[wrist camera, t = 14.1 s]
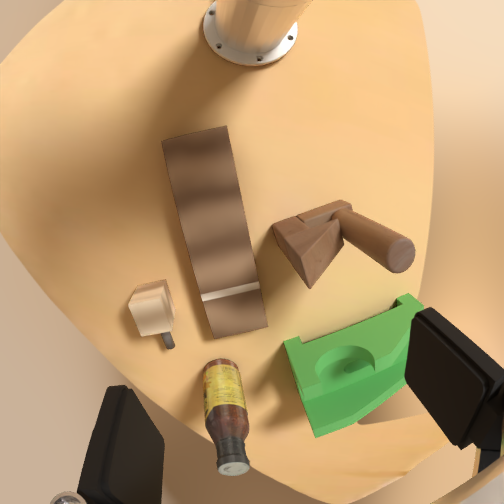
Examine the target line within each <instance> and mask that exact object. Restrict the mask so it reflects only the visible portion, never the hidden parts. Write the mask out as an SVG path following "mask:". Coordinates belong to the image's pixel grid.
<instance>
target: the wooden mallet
mask: <svg viewBox="0 0 504 504" xmlns="http://www.w3.org/2000/svg"><path fill="white" fill-rule="evenodd" d="M272 228H273V231H274V234H275V237H276V240H277V243H278V246H279V247H280V248H281V250H282V251H283V253H284V254H285V255H286V257H287V258H288V260H289V261H290V262H291V264H292V265H293V267H294V268H295V270H296V271H297V273H298V274H299V275H300V277H301V278H302V280H303V281H304V283H305V284H306V285H307V287H308V288H309V289H311V288H312V286H313V285H314V284H315V282H316V281H317V280H318V279H319V277H320V276H321V275H322V273H323V272H324V271H325V270H326V268H327V267H328V266H329V264H330V263H331V262H332V260H333V259H334V258H335V256H336V255H337V254H338V252H339V251H340V250H341V248H342V247H343V246H344V241H343V238H344V239H346V240H347V241H348V242H350V243H351V244H353V245H354V246H355V247H357V248H358V249H360V250H361V251H363V252H364V253H365V254H367V255H368V256H369V257H371V258H372V259H374V260H375V261H376V262H378V263H379V264H380V265H382V266H383V267H385V268H386V269H387V270H389V271H390V272H392V273H402V272H404V271H406V270H407V269H408V268H409V267H410V266H411V265H412V263H413V261H414V258H415V247H414V244H413V243H412V241H411V240H410V239H408V238H407V237H405V236H403V235H401V234H399V233H397V232H395V231H393V230H391V229H389V228H387V227H385V226H383V225H381V224H379V223H377V222H375V221H373V220H371V219H369V218H366V217H364V216H362V215H360V214H358V213H356V212H354V211H353V210H352V206H351V204H350V203H348V202H345V201H343V200H338V201H335V202H332V203H329V204H327V205H324V206H321V207H318V208H315V209H313V210H310V211H307V212H304V213H302V214H299V215H297V217H295V216H293V217H290V218H288V219H285V220H282V221H279V222H277V223H274V224H273V225H272Z"/></svg>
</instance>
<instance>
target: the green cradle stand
mask: <svg viewBox="0 0 504 504" xmlns="http://www.w3.org/2000/svg"><path fill="white" fill-rule="evenodd" d="M421 310H424V305H423V304H421V303H420V302H419V301H418V300H417V299H415V298H414V297H413V296H412V295H410V294H409V293H407V294H405V295H403V296H401V297H398V298H397V307H395V308H393V309H391V310H389V311H386V312H384V313H382V314H379V315H377V316H375V317H372V318H370V319H367V320H365V321H363V322H360V323H358V324H355V325H353V326H350V327H348V328H345V329H342V330H340V331H337V332H335V333H332V334H329V335H327V336H324V337H321V338H318V339H316V340H313V341H310V342H307V343H304V344H302V342H301V340H300V338H299V336H298V337H295V338H292V339H289V340H286V341H283V342H284V345H285V349H286V352H287V355H288V359H289V362H290V365H291V369H292V372H293V376H294V379H295V382H296V386H297V389H298V393H299V395H300V398H301V401H302V403H303V406H304V409H305V411H306V414H307V417H308V419H309V422H310V425H311V428H312V430H313V433H314V436H315V438H317V437H320V436H323V435H326V434H328V433H331V432H334V431H336V430H339V429H342V428H344V427H347V426H349V425H352V424H354V423H355V422H357V421H358V420H360V419H361V418H362V417H364V416H365V415H367V414H368V413H369V412H371V411H372V410H374V409H375V408H376V407H378V406H379V405H380V404H382V403H383V402H384V401H386V400H387V399H388V398H389V397H391V396H392V395H393V394H394V393H396V392H397V391H398V390H399V389H401V388H402V387H403V386H404V385H406V384H407V383H406V381H405V377H404V373H405V367H406V360H407V353H408V346H409V337H410V328H411V320H412V319H413V318H414V315H415V313H417V312H419V311H421Z"/></svg>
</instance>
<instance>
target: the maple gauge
mask: <svg viewBox="0 0 504 504" xmlns="http://www.w3.org/2000/svg"><path fill="white" fill-rule="evenodd" d="M128 306H129V309H130V311H131V314H132V316H133V318H134V321H135V323H136V326H137V328H138V330H139V332H140V335H141V337H142V336H147V335H153V334H158V333H161V336H162V338H163V341H164V343H165V345H166V348H167V349H173V348H174V347H175V344H174V341H173V339H172V336H171V334H170V331H172V328H173V322H174V317H175V311H176V308H175V305H174V302H173V299H172V296H171V293H170V290H169V287H168V284H167V281H166V279H165V280H160V281H156V282H151V283H147V284H142V285H138V286H137V287H136V289H135V291H134V294H133V296H132V298H131V300H130V302H129V304H128Z"/></svg>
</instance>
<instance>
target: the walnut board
mask: <svg viewBox="0 0 504 504" xmlns="http://www.w3.org/2000/svg"><path fill="white" fill-rule="evenodd" d="M161 142H162V147H163V151H164V156H165V160H166V165H167V169H168V173H169V178H170V182H171V186H172V190H173V194H174V198H175V202H176V207H177V211H178V214H179V218H180V222H181V226H182V230H183V234H184V237H185V241H186V245H187V249H188V252H189V256H190V260H191V263H192V267H193V270H194V274H195V277H196V281H197V284H198V287H199V291H200V294H201V298H202V301H203V304H204V308H205V311H206V314H207V317H208V320H209V324H210V327H211V330H212V333H213V336H214V339H217V338H222V337H226V336H231V335H235V334H240V333H244V332H249V331H253V330H257V329H261V328H265V327H268V324H267V319H266V314H265V309H264V305H263V300H262V295H261V290H260V285H259V280H258V275H257V270H256V266H255V261H254V256H253V251H252V246H251V241H250V236H249V232H248V227H247V222H246V217H245V212H244V207H243V202H242V198H241V193H240V188H239V183H238V178H237V173H236V168H235V164H234V159H233V154H232V149H231V144H230V139H229V135H228V130H227V126H223V127H218V128H213V129H209V130H204V131H200V132H195V133H191V134H187V135H183V136H179V137H175V138H171V139H167V140H164V141H161Z"/></svg>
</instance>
